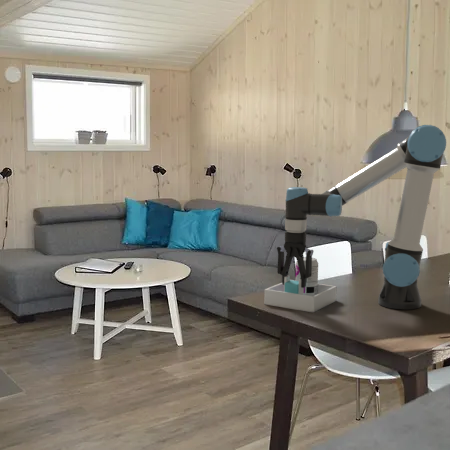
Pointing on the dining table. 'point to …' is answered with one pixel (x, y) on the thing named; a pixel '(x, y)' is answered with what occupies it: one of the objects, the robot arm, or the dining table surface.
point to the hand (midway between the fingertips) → (293, 294)
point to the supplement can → (312, 281)
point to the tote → (300, 298)
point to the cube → (292, 286)
